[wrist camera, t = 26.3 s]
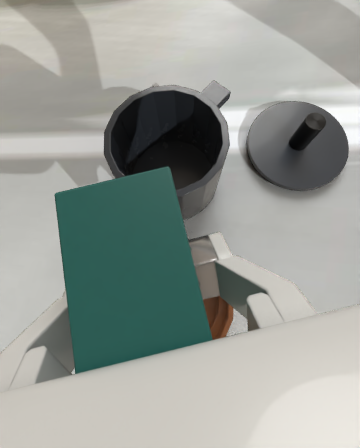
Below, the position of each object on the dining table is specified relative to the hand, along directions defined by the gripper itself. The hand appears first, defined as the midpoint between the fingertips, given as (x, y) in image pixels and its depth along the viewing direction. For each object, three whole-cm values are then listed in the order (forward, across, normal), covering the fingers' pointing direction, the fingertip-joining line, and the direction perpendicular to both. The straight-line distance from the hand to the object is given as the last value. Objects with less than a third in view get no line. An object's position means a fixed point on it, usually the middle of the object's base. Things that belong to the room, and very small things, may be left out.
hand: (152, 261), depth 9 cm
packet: (+3, 0, +4) cm, 5 cm away
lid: (+23, -20, +5) cm, 30 cm away
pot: (+23, -2, +5) cm, 23 cm away
